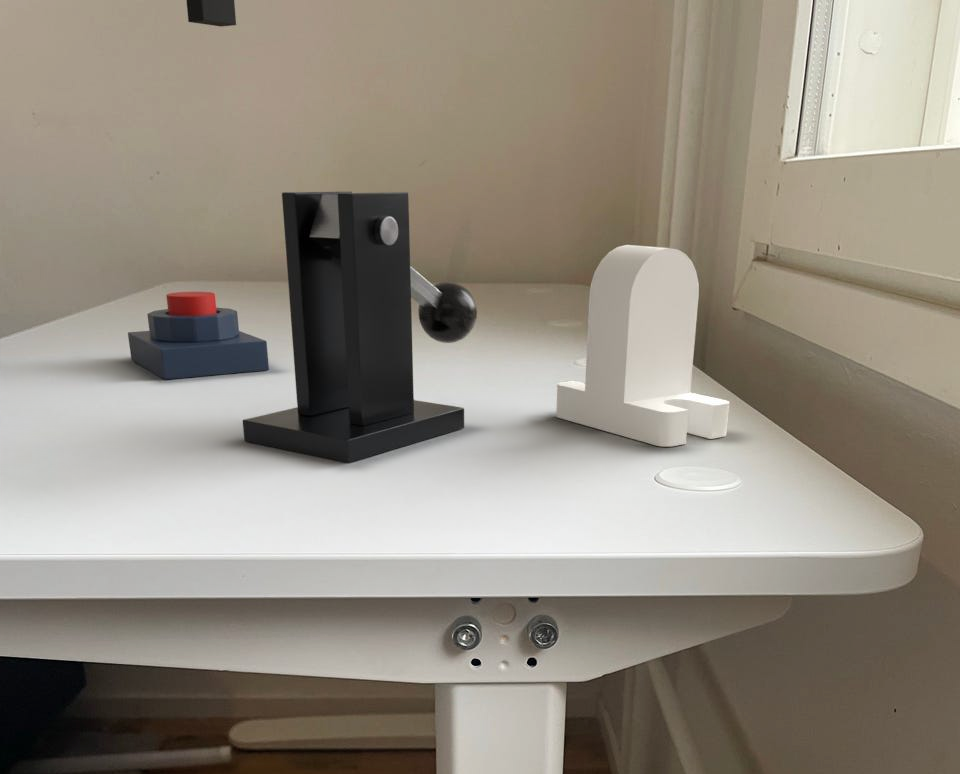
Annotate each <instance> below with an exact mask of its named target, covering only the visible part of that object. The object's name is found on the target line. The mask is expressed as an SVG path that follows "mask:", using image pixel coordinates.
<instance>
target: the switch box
mask: <svg viewBox="0 0 960 774" xmlns="http://www.w3.org/2000/svg"><path fill="white" fill-rule="evenodd" d="M216 310H217V313H216V314H209V315H195V316H177V315H169V314H168V308H165V309H164V308H163V309H157V310H153V311H150V312H148V313H147V314H146V315H147V323H148V329H149V330H141V331H140V330H139V331H138V330H137V331H128V332H127V337H128V344H129V352H130V353H129V354H130V360H131V361H133V362H134V363H136V364H138V365H139V366H141V367H143V368H144V369H146V370H148V371H150V372H151V373H153V374H155V375H156V376H158V377H159V378H161V379H163V380H165V381H166V380H177V379H188V378H198V377H209V376H210V377H211V376H220V375H230V374H242V373H253V372H254V373H255V372H263V371H269V370H270V366H269V354H268V342H267V340H265V339H263V338H260V337H257V336H254V335H251V334H249V333H246V332H243V331H241V330H240V328H239V318H238V311H237V310H235V309H232V308H227V307H216Z"/></svg>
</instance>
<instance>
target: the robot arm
mask: <svg viewBox="0 0 960 774" xmlns="http://www.w3.org/2000/svg"><path fill="white" fill-rule="evenodd" d="M235 4H236V3H235V0H186V11H187V21H188V23H192V24H193V23H194V24H201V25H208V26H215V27H220V28H221V27H232V26H237V17H236V5H235Z"/></svg>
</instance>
